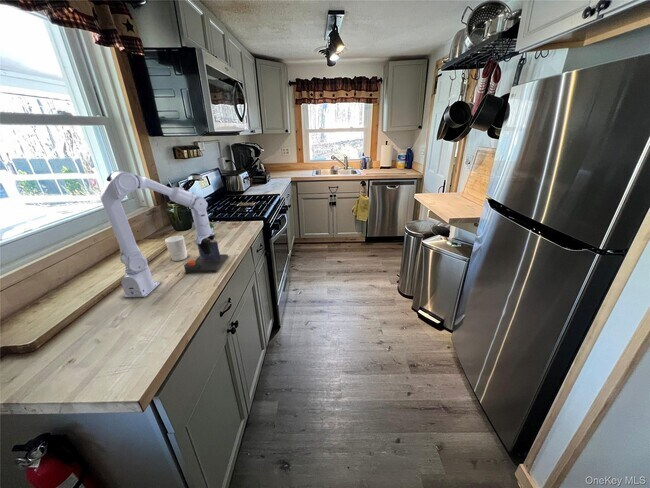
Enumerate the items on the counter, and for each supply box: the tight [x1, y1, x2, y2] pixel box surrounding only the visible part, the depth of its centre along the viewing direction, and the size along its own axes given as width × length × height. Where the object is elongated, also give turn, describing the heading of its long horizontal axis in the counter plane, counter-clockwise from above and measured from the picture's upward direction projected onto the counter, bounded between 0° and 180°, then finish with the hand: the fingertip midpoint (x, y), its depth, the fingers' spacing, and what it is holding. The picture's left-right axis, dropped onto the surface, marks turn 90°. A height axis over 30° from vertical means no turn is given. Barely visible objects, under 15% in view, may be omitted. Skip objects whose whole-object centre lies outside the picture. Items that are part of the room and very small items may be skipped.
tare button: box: [186, 259, 196, 266], centre depth 111 cm, size 3×3×2 cm
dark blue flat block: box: [196, 237, 221, 260], centre depth 115 cm, size 9×3×11 cm, turn 86°
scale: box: [183, 253, 229, 274], centre depth 116 cm, size 16×14×3 cm
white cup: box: [164, 235, 188, 262], centre depth 122 cm, size 8×8×10 cm
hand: (208, 252), depth 116 cm, fingers closed on dark blue flat block, 3 cm apart
